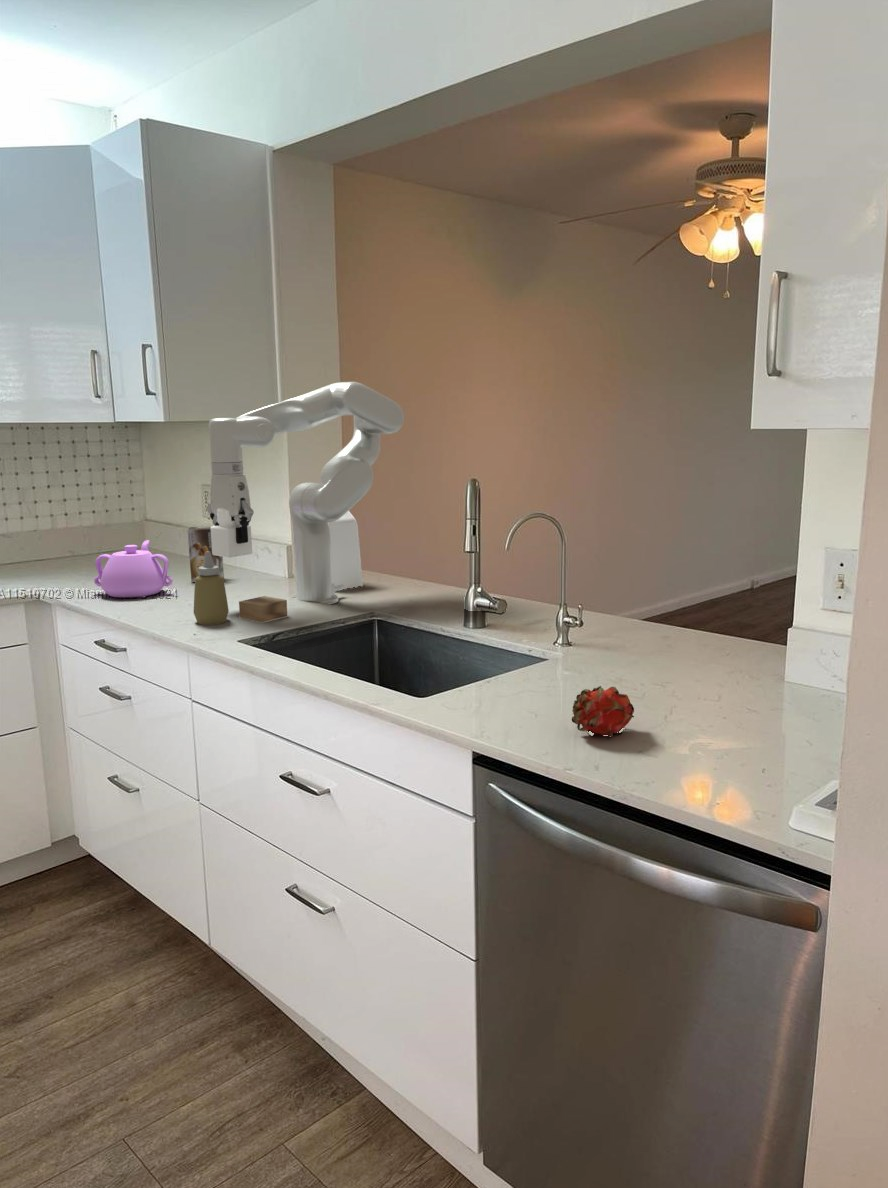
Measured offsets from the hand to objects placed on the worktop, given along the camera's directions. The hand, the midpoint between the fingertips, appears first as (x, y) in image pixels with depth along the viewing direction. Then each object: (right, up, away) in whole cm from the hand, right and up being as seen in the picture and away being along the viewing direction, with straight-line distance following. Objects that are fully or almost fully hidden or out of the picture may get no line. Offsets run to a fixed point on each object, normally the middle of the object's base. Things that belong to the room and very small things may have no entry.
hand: (231, 541), depth 225 cm
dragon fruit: (+78, -35, -80) cm, 117 cm away
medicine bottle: (0, -3, +1) cm, 4 cm away
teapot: (-34, -13, +31) cm, 48 cm away
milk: (+21, -11, +39) cm, 45 cm away
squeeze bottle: (-3, -21, -9) cm, 23 cm away
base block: (+9, -19, -5) cm, 21 cm away
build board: (+9, -20, -5) cm, 22 cm away
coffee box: (-18, -9, +48) cm, 52 cm away
